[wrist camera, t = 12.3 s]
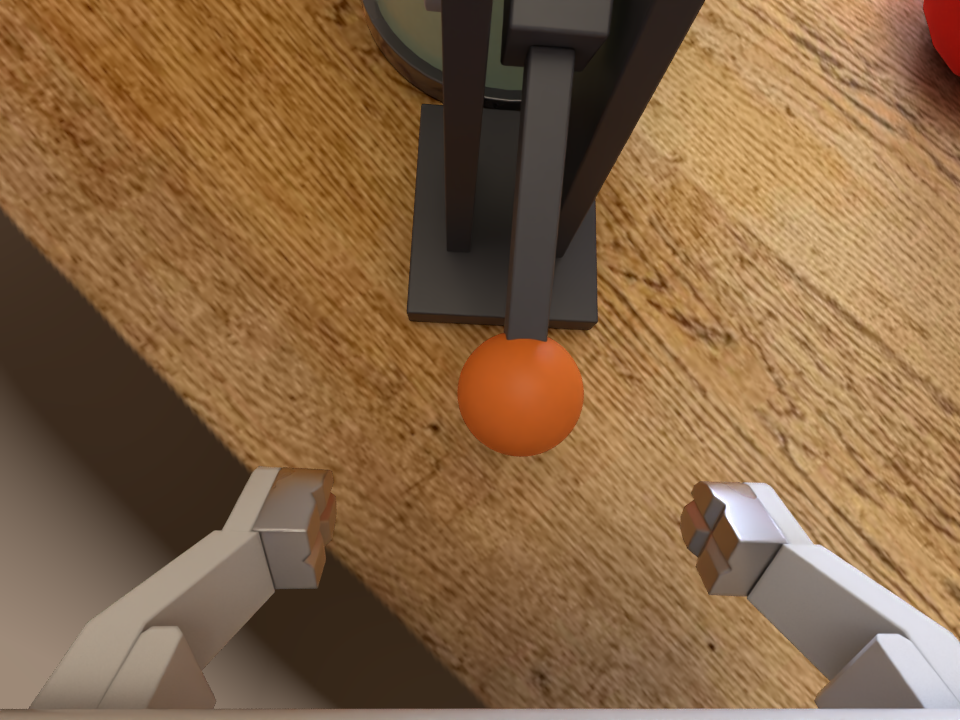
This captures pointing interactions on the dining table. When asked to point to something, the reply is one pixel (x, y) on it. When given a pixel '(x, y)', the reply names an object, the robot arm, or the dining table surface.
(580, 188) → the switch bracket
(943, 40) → the tomato
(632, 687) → the dining table surface
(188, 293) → the dining table surface
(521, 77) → the green canister
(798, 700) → the dining table surface
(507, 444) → the switch
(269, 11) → the dining table surface
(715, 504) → the robot arm
